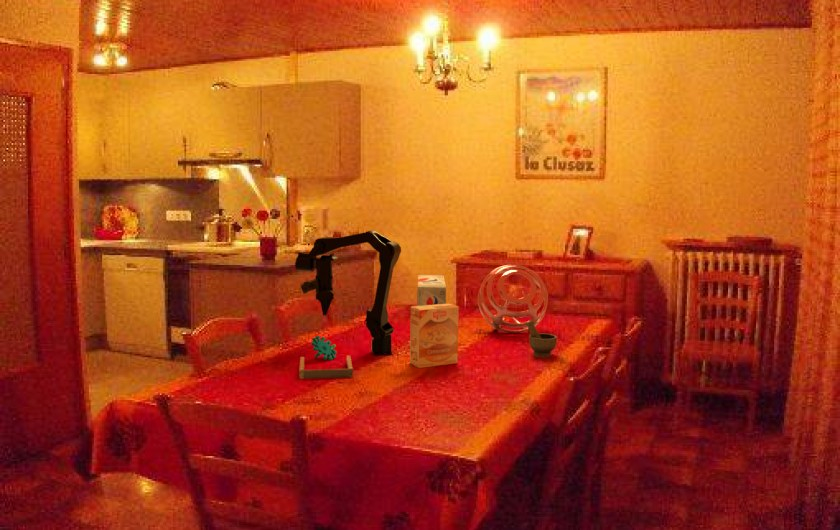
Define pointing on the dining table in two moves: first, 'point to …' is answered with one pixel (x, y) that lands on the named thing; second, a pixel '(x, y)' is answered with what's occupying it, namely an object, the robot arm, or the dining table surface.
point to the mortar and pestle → (541, 341)
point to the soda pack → (431, 290)
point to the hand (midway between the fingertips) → (324, 315)
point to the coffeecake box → (434, 335)
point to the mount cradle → (326, 371)
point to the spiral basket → (513, 299)
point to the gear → (323, 348)
